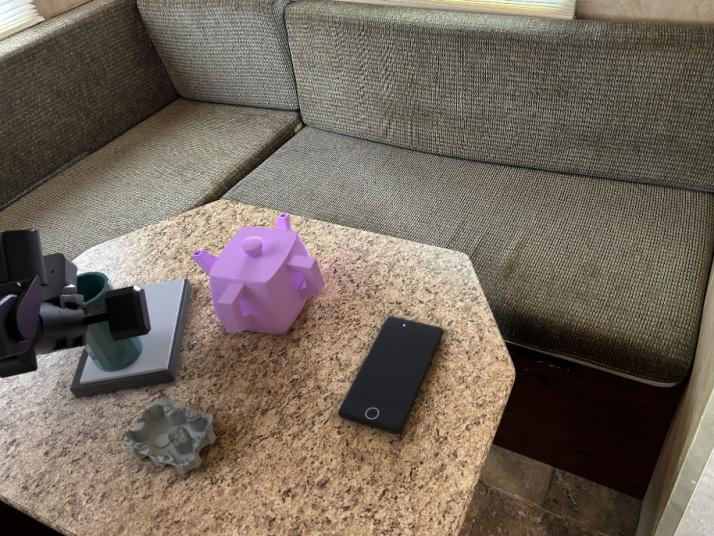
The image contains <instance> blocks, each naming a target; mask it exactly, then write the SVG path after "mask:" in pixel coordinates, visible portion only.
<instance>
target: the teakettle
mask: <svg viewBox="0 0 714 536" xmlns="http://www.w3.org/2000/svg"><path fill="white" fill-rule="evenodd" d="M190 258H191V259H192V260H193V262H195V264H196V265H198V267H199V268H200V269H201V270H203V272H204V273H205V275H207V276H208V278H209V289H210V295H211V296H210V297H211V301H212V307H213V309H214V312H215V315H216V318H217V319H218V320H219V322H221V324H222V325H223V326H224V329H225V331H226V332H232V333H238V334H239V333H241V332H243V331H247V332H254V333H261V334H269V335H283V334H286V333H287V332H288V331H289V330H290V328H291V327H292V326H293V325H294V323H295V321H296V320H297V319H298V317H299V316H300V314H301V312H302V311H303V309H304V307H305V305H306V303H307V300H308V299H309V298H313V297H316V296H318V295H319V296H320V295H321V293H322V291H323V290H324V287H325V286H326V282H325V279H324V277H323V274H322V271H321V269H320V266H319V265H320V264H319V263H318V261H317V258H316V257H311V254H310V252H309V250H308V248H307V246H306V244H305V242H304V240H303V239H302V237H301V235H300V234H299V233H298V232H297V231H293V230H292V225H291V215H290V213H289V212H281V213H280V214H279V215H277V217H276V222H275V226H274V228H272V227H271V228H270V227H260V226H243V227H242V228H240V229H239V230H238V231H237V232H236V233H235V234H234V236H233V237H232V238H231V239H230V240H229V242H227V244H226V245H225V247H224V248H223V249H222V251H221V252H220V254H219V255H218V256H216V255H214V254H212V253H209V252H207V251H205V249H197V250H194V251H193V252H192V253H191V254H190Z"/></svg>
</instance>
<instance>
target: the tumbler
mask: <svg viewBox="0 0 714 536" xmlns="http://www.w3.org/2000/svg"><path fill="white" fill-rule="evenodd" d="M114 289H115V287H114V286H113V284H112V282H111V280H110V278H109V277H108V276H107V275H106V273H103V272H100V271H86V272H83V273H80V274H77V295H83V298H84V304H85V305H84V306H81V308H83V307H88V306H92V305H97V304H102V303H105V299H104V298H105V294H106V291H110V290H114ZM102 313H107V311H106V309H105V312H103V311H102V312H98V313H96V311H95V314H93V313H92V314H88V315H86V316H87V317H88V316H93V315H97V314H102ZM85 336H86V342H87V345H86V346H82V348H83V349H84V348H85V350H86V352H87V353H88V355H89V356H90V358H91V359H92V361H93V362H94V364H95V365H96V367H97V368H98V369H100V370H102V371H105V372H114V371H118V370H121V369H124V368H126V367H127V366H129V365H131V364H132V363H133V362H134V361H135V360H136V359H137V358H138V357H139V356H140V354H141V352H142V350H143V342H142V340H141V337H140V336H139V337H134V338H130V339H125V340H120V341H114V339H113V338H112V336H111V334H110V329H109V323H108V321H107V322H102V323H97V324H93V325H88V331H87V334H86V335H85Z"/></svg>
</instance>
